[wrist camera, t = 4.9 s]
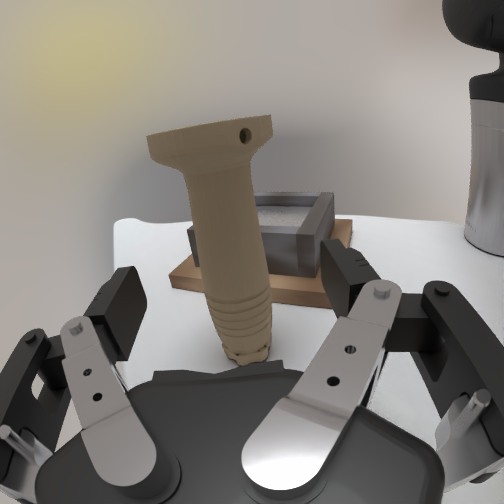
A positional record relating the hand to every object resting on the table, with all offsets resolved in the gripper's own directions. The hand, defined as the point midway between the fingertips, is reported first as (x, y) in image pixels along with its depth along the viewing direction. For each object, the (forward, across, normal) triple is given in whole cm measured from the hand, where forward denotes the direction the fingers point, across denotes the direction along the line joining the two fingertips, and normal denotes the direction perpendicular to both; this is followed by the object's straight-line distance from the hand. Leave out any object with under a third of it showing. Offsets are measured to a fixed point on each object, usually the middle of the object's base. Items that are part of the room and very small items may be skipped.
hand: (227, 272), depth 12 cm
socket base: (+18, -3, +9) cm, 20 cm away
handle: (+4, 0, +9) cm, 10 cm away
